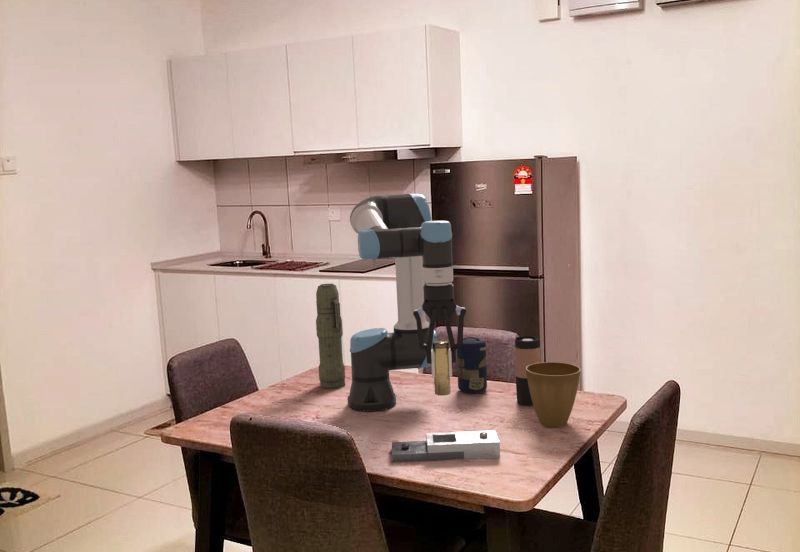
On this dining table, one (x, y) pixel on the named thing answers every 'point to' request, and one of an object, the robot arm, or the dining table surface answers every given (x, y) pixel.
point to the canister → (472, 365)
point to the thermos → (329, 337)
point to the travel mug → (525, 365)
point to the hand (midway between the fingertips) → (441, 375)
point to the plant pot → (553, 391)
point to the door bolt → (448, 447)
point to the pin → (441, 368)
